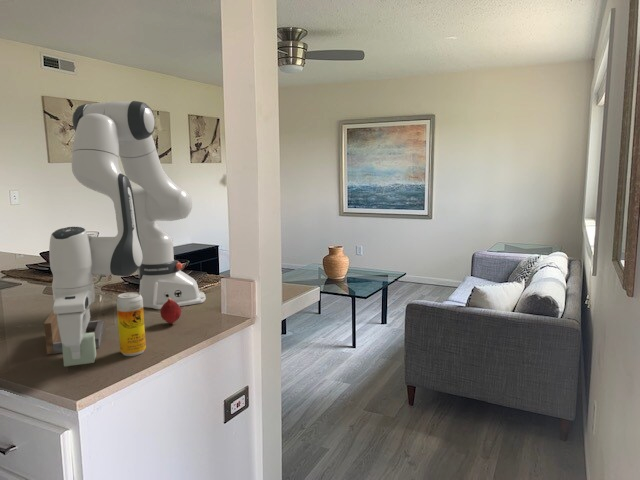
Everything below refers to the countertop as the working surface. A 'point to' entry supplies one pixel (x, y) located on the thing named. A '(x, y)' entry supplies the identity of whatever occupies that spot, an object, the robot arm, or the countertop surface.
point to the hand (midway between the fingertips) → (79, 351)
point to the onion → (170, 311)
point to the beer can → (131, 323)
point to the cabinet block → (82, 351)
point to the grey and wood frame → (54, 335)
